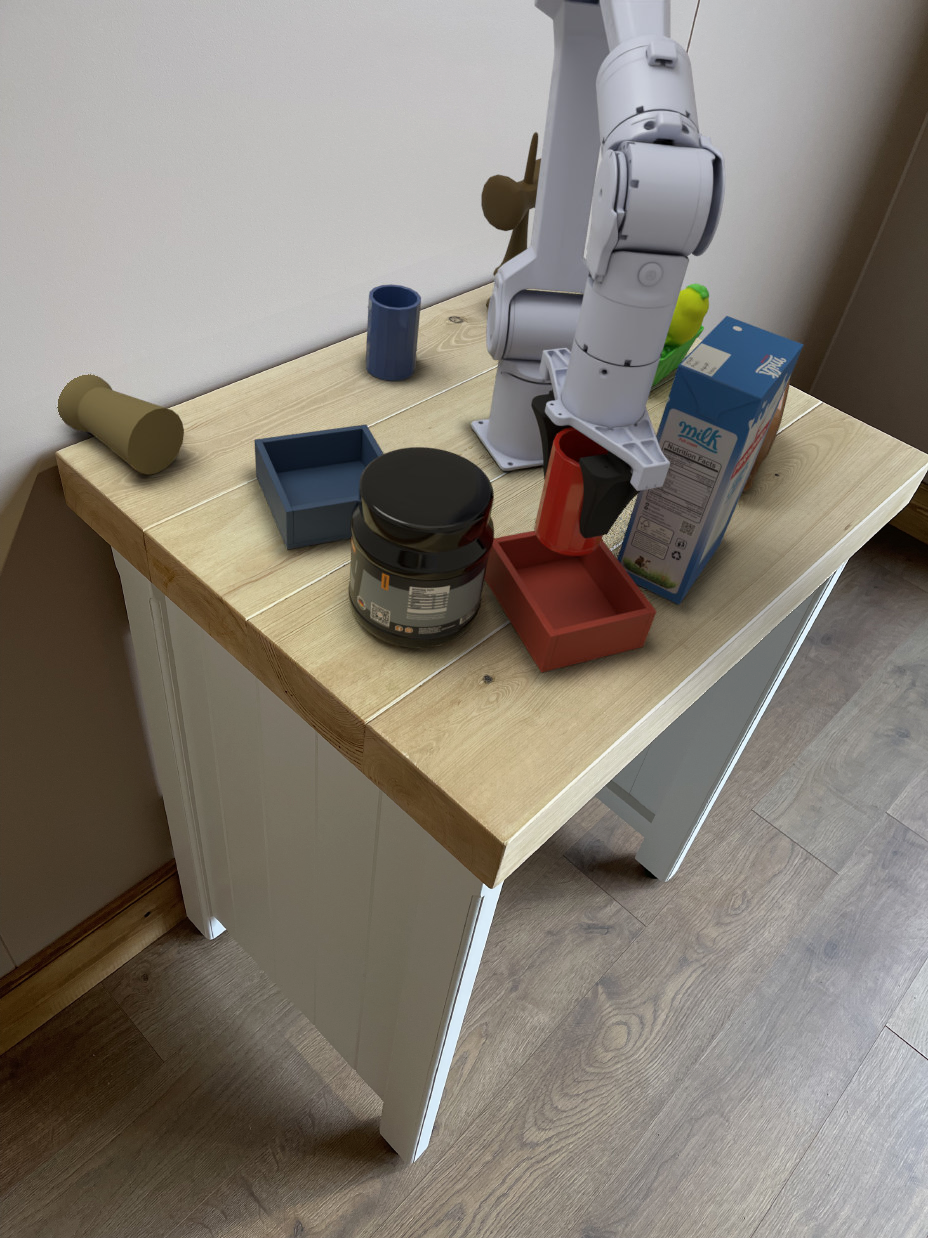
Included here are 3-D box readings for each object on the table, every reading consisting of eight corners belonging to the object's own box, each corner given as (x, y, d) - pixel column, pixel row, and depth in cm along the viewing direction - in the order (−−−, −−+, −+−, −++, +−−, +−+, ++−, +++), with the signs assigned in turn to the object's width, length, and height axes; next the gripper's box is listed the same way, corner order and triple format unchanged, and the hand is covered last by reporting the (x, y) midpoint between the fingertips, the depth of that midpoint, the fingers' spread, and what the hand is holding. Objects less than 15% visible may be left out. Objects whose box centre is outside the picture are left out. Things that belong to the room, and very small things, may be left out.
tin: (738, 423, 98) (765, 352, 92) (767, 432, 97) (796, 361, 91) (714, 501, 88) (743, 426, 82) (746, 511, 87) (778, 437, 81)
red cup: (594, 513, 73) (618, 427, 67) (607, 557, 69) (633, 470, 64) (530, 510, 72) (548, 424, 66) (539, 555, 68) (560, 467, 63)
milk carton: (678, 605, 77) (761, 398, 63) (612, 573, 79) (678, 364, 64) (720, 544, 83) (804, 343, 69) (658, 516, 85) (727, 314, 71)
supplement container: (415, 544, 78) (428, 424, 70) (506, 612, 74) (532, 493, 65) (319, 599, 72) (320, 476, 64) (411, 677, 68) (426, 555, 59)
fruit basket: (635, 340, 108) (661, 246, 100) (703, 370, 105) (735, 275, 97) (587, 376, 101) (611, 277, 93) (658, 409, 98) (689, 310, 90)
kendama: (550, 310, 111) (585, 132, 97) (501, 334, 105) (530, 149, 91) (512, 291, 113) (541, 115, 99) (461, 313, 108) (484, 130, 94)
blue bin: (364, 460, 86) (366, 423, 83) (402, 528, 79) (406, 492, 77) (256, 476, 82) (254, 439, 79) (287, 549, 76) (286, 512, 73)
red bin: (578, 555, 80) (587, 519, 77) (643, 646, 73) (657, 611, 70) (481, 575, 76) (488, 538, 74) (541, 672, 70) (550, 636, 67)
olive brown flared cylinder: (126, 418, 75) (40, 370, 79) (129, 483, 79) (46, 434, 83) (183, 400, 79) (99, 356, 84) (184, 462, 83) (103, 417, 87)
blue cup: (404, 352, 100) (410, 282, 94) (421, 377, 97) (428, 306, 91) (359, 357, 98) (362, 286, 93) (375, 383, 95) (379, 311, 89)
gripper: (515, 295, 62) (487, 459, 72) (620, 413, 54) (573, 582, 63) (604, 287, 65) (566, 447, 75) (719, 398, 56) (659, 564, 66)
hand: (575, 508), depth 69 cm, fingers closed on red cup, 5 cm apart
